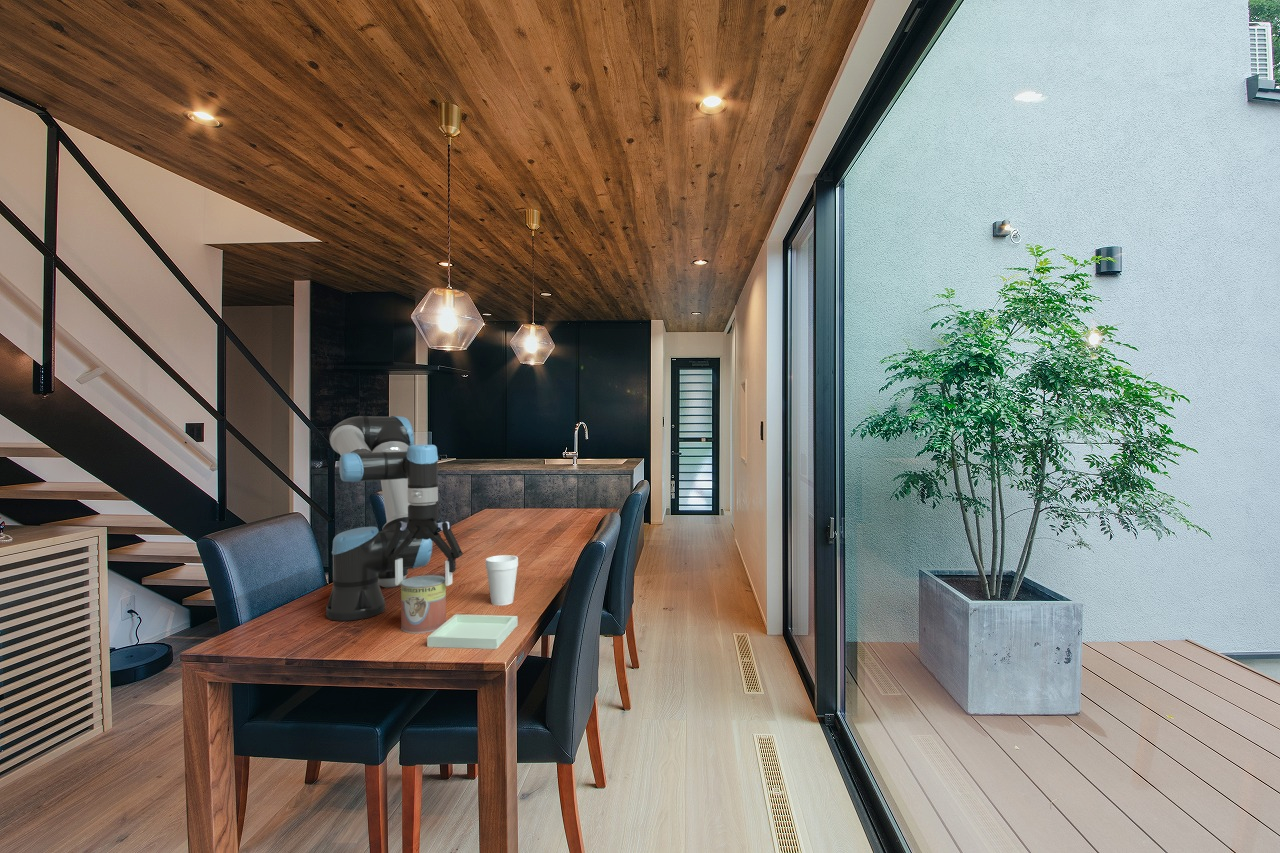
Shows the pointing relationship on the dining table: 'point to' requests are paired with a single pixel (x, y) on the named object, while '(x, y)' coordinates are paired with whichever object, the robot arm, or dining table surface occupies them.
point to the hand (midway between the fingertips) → (424, 584)
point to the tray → (473, 631)
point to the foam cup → (502, 578)
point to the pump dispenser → (389, 578)
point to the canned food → (423, 603)
